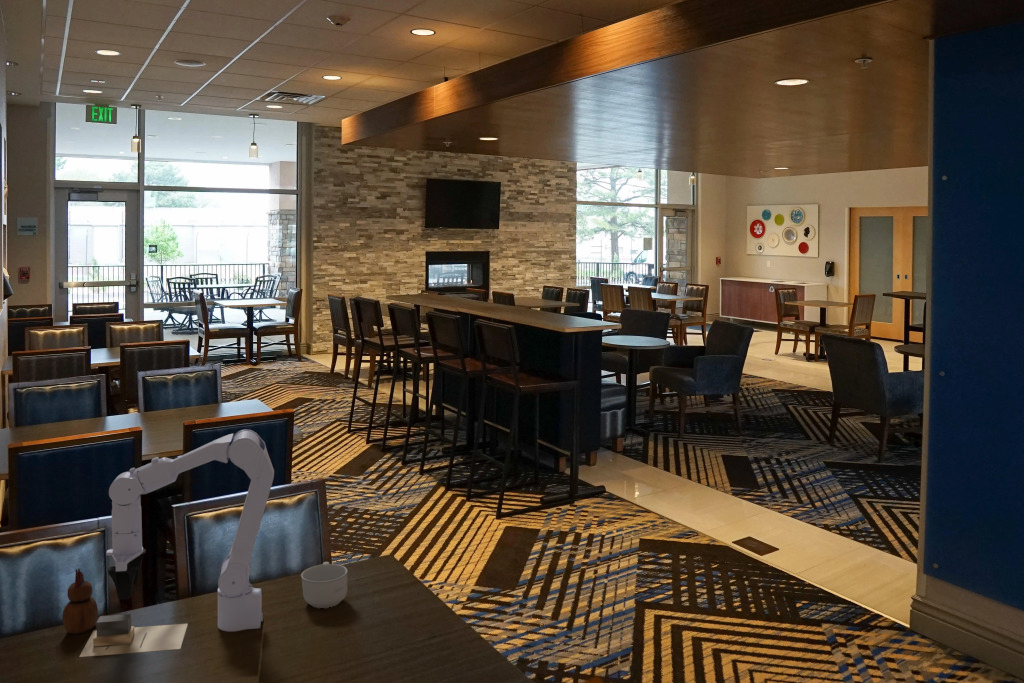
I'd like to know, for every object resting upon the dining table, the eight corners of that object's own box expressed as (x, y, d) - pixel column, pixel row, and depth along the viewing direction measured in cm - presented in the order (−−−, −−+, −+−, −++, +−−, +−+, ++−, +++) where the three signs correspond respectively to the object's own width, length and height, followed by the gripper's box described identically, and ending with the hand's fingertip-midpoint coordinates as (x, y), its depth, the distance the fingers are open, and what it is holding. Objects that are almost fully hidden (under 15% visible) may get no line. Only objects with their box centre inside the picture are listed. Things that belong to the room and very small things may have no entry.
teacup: (341, 614, 191) (342, 580, 190) (295, 612, 191) (295, 579, 190) (353, 590, 205) (354, 559, 204) (310, 588, 205) (311, 557, 204)
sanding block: (134, 634, 174) (134, 612, 174) (130, 644, 170) (129, 621, 170) (98, 637, 173) (98, 614, 172) (93, 647, 168) (92, 624, 168)
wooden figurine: (81, 641, 173) (80, 573, 172) (57, 638, 174) (56, 570, 173) (103, 627, 180) (102, 561, 178) (80, 624, 181) (79, 558, 180)
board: (187, 628, 181) (187, 623, 181) (180, 654, 169) (180, 648, 169) (93, 635, 176) (93, 630, 176) (79, 662, 164) (79, 656, 164)
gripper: (113, 520, 179) (114, 579, 181) (98, 542, 165) (100, 607, 167) (148, 518, 181) (149, 577, 182) (136, 540, 167) (137, 604, 168)
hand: (128, 591), depth 175 cm, fingers open, 7 cm apart
